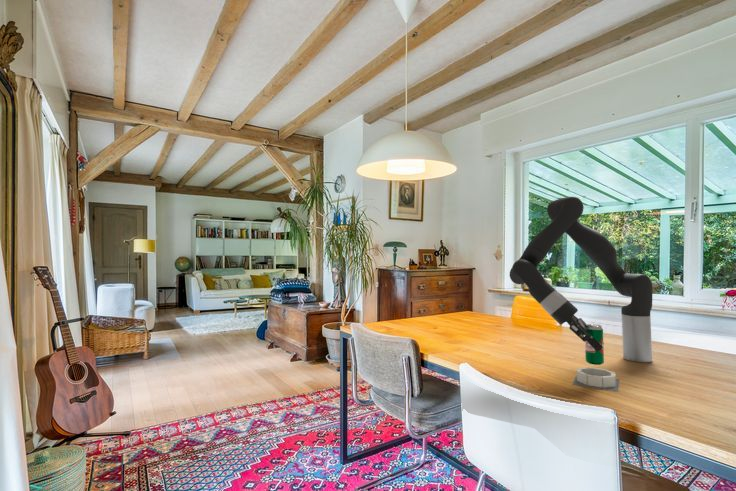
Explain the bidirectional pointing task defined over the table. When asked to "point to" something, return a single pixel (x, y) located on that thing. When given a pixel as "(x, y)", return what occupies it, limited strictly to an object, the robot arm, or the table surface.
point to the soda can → (590, 352)
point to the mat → (597, 387)
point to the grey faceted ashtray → (596, 377)
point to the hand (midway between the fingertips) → (600, 347)
